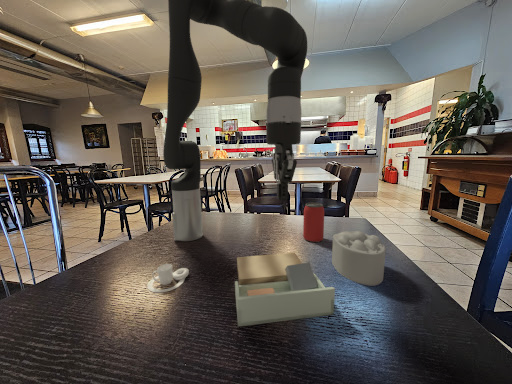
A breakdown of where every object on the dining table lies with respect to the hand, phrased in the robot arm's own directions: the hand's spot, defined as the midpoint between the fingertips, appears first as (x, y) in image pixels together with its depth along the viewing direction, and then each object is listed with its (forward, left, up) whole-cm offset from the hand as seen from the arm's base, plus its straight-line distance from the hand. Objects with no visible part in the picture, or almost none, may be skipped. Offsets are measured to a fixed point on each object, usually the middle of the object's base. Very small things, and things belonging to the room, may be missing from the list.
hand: (282, 199), depth 50 cm
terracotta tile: (-7, -13, -15) cm, 21 cm away
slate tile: (+2, -8, -16) cm, 17 cm away
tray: (-3, -12, -18) cm, 22 cm away
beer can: (+16, +18, -18) cm, 30 cm away
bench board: (-3, -2, -18) cm, 18 cm away
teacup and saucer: (-25, -2, -19) cm, 31 cm away
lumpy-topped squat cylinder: (+18, -3, -18) cm, 26 cm away
